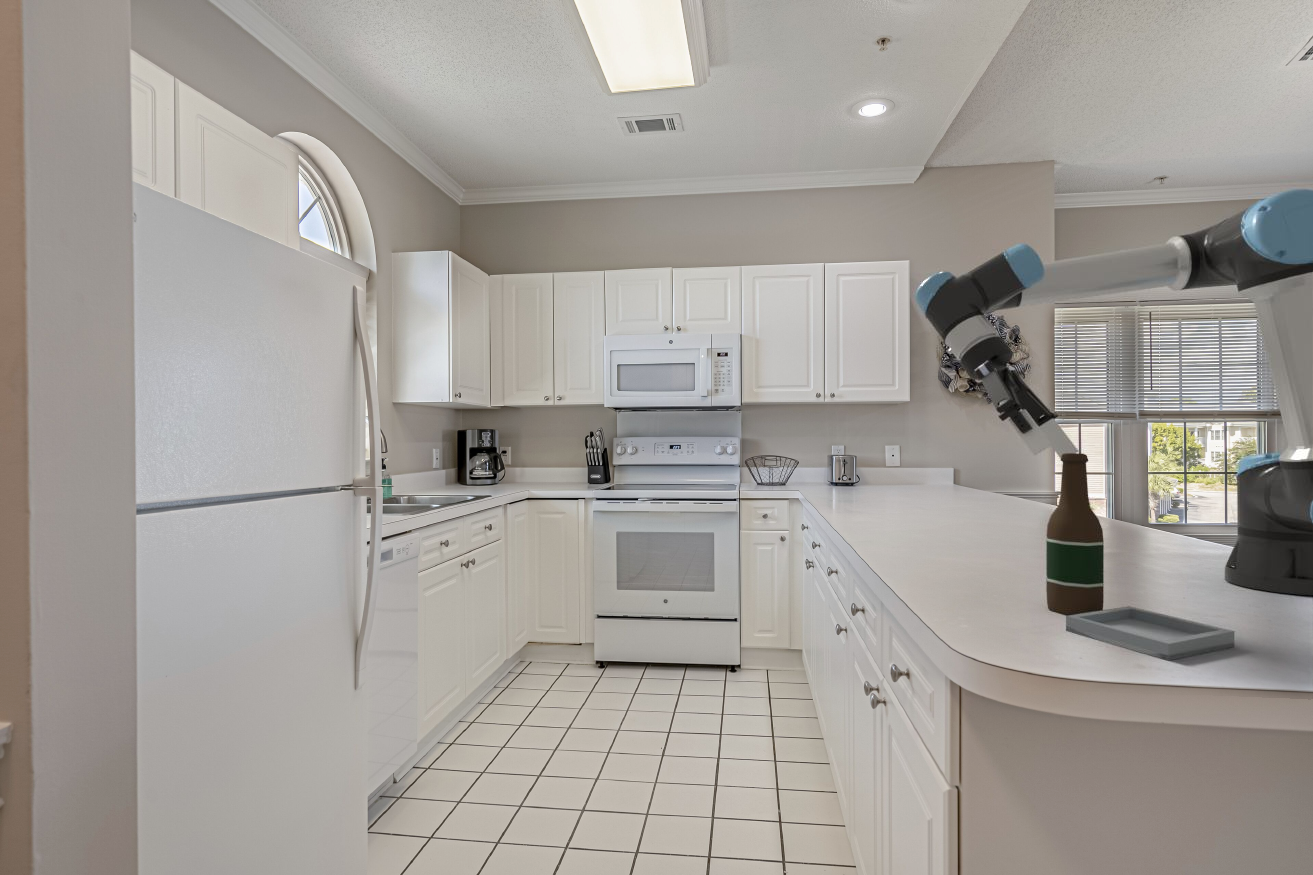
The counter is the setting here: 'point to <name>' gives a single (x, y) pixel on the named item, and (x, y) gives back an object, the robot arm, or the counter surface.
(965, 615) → the counter surface
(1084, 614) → the keeper tray
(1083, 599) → the beer bottle
